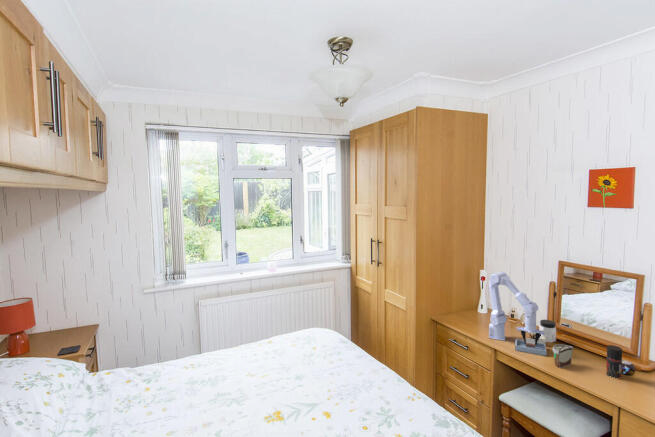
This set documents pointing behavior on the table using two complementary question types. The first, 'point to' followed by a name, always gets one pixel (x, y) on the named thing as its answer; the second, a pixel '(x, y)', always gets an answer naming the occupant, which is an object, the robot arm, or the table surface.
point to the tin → (530, 343)
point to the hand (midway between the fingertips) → (530, 344)
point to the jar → (548, 330)
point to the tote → (539, 348)
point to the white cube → (541, 340)
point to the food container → (562, 355)
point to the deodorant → (614, 361)
